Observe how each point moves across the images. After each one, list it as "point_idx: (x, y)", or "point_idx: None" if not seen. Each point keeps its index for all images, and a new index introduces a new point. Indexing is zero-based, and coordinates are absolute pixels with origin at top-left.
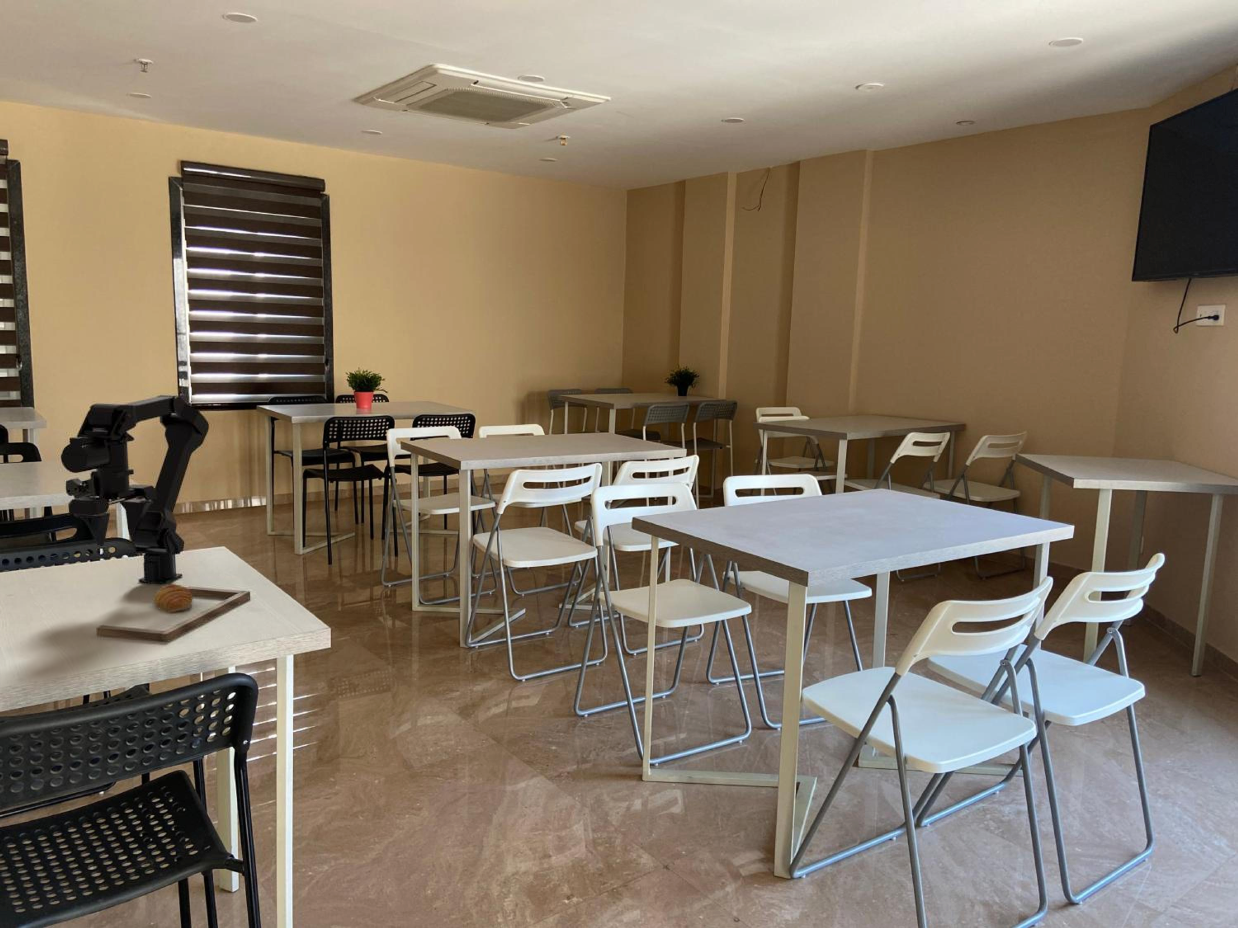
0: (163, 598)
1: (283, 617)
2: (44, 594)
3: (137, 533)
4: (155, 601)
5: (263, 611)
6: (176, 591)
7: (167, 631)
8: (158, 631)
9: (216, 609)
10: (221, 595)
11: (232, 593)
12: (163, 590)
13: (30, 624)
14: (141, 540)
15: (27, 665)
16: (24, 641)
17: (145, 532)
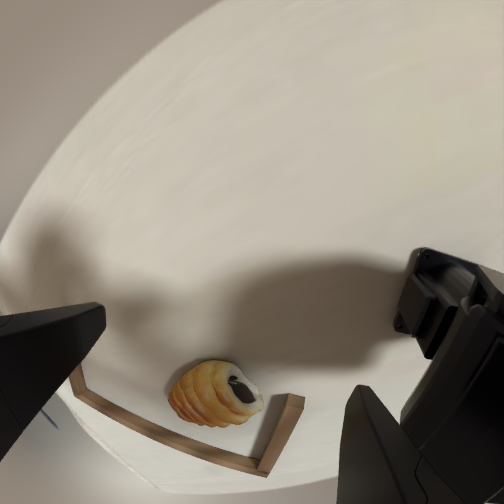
0: (181, 391)
1: (189, 483)
2: (282, 35)
3: (462, 362)
4: (194, 369)
5: (207, 474)
6: (199, 415)
7: (80, 397)
8: (76, 388)
9: (171, 446)
10: (266, 447)
11: (260, 462)
12: (205, 394)
13: (76, 162)
14: (437, 359)
15: (2, 264)
16: (30, 211)
17: (442, 405)
